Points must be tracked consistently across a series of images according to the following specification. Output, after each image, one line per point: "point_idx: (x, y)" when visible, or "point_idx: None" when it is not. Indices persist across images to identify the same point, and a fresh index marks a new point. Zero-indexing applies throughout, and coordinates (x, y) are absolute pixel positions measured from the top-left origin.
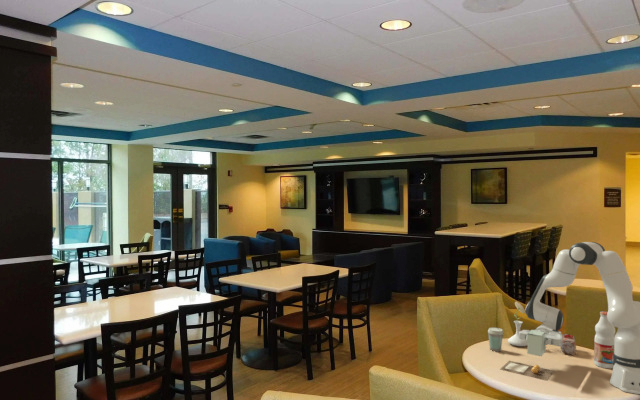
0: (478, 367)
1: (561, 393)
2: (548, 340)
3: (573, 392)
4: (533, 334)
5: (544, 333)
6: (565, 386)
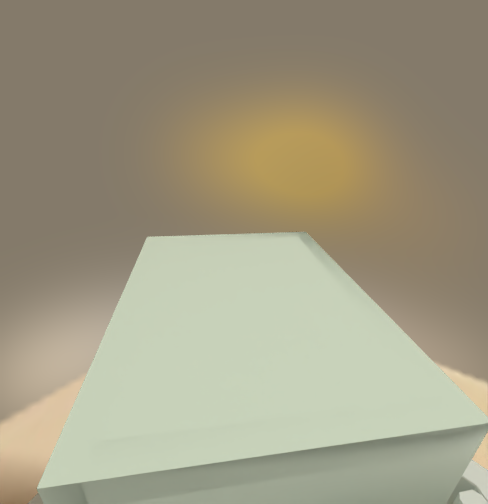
0: (478, 399)
1: (77, 387)
2: (37, 501)
3: (6, 438)
4: (240, 234)
5: (100, 356)
6: (28, 500)
